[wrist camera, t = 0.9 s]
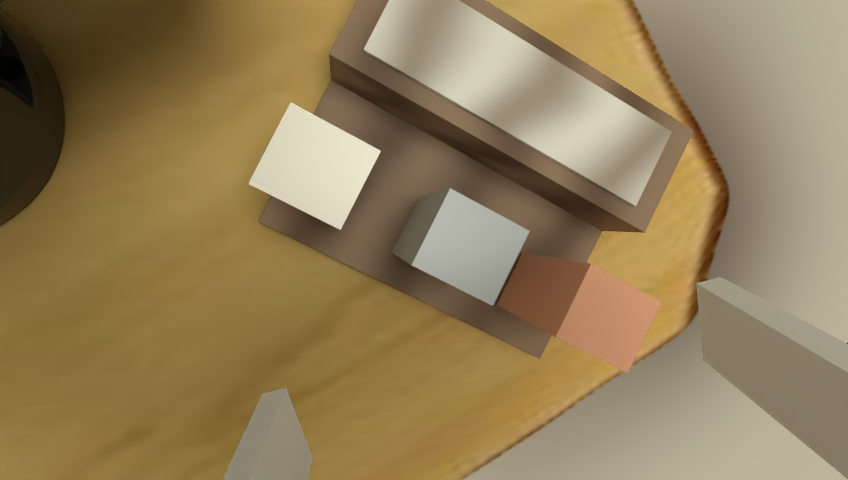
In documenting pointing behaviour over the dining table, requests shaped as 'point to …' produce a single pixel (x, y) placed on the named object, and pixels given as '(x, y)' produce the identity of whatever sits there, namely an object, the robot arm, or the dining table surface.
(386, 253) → the key console
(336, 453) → the dining table surface
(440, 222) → the slate key
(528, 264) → the pink tall block
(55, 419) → the dining table surface
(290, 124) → the ivory key
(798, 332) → the robot arm
